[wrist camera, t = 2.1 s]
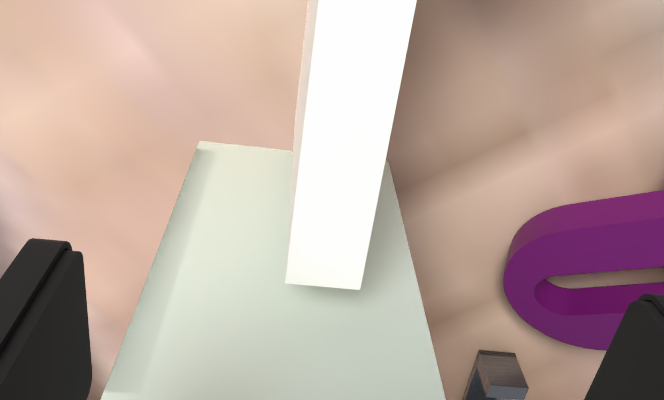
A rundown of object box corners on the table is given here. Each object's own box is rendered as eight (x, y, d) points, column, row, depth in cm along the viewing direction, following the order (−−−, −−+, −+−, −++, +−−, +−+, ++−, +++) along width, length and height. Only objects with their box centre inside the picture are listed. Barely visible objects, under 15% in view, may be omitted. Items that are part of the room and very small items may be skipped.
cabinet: (388, 161, 33) (456, 444, 17) (350, 354, 40) (374, 680, 24) (199, 140, 32) (92, 420, 16) (193, 341, 39) (114, 672, 23)
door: (319, -100, 27) (324, -54, 14) (396, -89, 27) (465, -35, 15) (295, 115, 32) (285, 283, 19) (360, 122, 32) (390, 292, 20)
